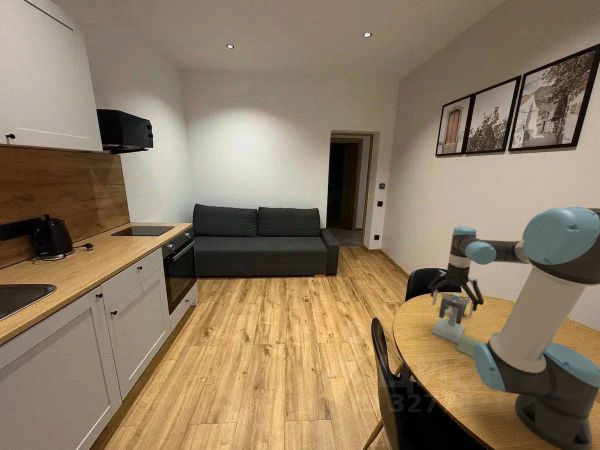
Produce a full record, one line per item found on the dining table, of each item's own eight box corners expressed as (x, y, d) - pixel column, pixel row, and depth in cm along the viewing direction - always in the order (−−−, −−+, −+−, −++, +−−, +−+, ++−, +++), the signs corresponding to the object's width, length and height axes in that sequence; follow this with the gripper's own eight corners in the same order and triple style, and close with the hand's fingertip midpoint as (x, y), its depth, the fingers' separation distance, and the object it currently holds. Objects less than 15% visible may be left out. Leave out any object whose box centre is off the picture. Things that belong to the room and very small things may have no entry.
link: (459, 324, 101) (463, 306, 99) (438, 316, 106) (441, 299, 104) (460, 323, 102) (464, 305, 100) (439, 315, 107) (442, 298, 105)
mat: (486, 363, 89) (487, 362, 89) (455, 350, 96) (455, 348, 96) (490, 346, 98) (491, 345, 98) (462, 335, 104) (462, 334, 104)
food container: (441, 316, 118) (444, 297, 116) (438, 309, 124) (441, 291, 121) (470, 321, 114) (474, 302, 112) (466, 313, 120) (469, 295, 118)
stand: (457, 345, 98) (463, 311, 95) (430, 334, 105) (435, 301, 101) (464, 328, 109) (470, 297, 105) (440, 319, 115) (445, 289, 112)
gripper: (498, 270, 92) (488, 318, 97) (428, 254, 109) (423, 296, 114) (496, 276, 87) (485, 327, 92) (423, 258, 104) (417, 302, 109)
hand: (451, 310), depth 103 cm, fingers open, 13 cm apart
